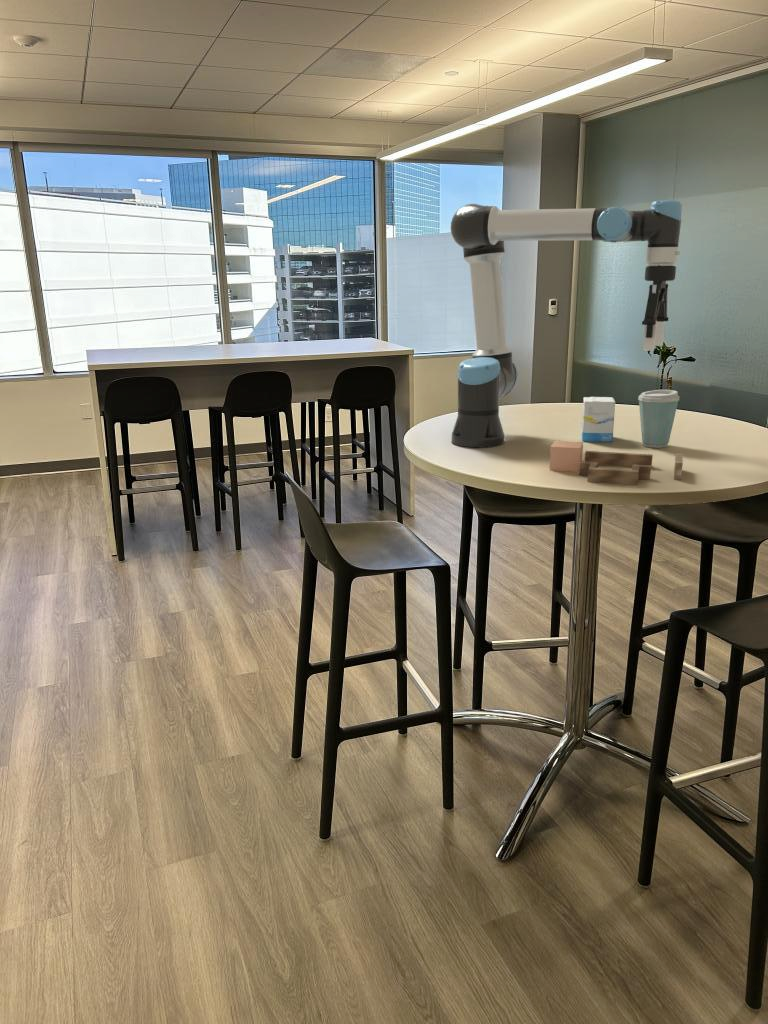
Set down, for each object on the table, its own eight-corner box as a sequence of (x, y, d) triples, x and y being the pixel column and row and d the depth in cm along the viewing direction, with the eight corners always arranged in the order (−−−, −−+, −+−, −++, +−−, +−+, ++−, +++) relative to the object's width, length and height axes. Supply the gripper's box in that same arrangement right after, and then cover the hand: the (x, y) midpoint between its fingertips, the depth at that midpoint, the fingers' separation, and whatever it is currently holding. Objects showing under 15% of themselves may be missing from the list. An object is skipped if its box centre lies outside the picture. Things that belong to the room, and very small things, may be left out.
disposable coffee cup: (649, 451, 201) (654, 395, 196) (626, 443, 211) (630, 389, 206) (683, 447, 204) (688, 392, 199) (658, 440, 213) (663, 387, 209)
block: (549, 470, 184) (550, 446, 183) (553, 463, 191) (554, 440, 189) (578, 472, 182) (579, 448, 180) (581, 465, 188) (583, 442, 187)
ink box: (612, 442, 212) (615, 401, 209) (582, 441, 214) (584, 401, 210) (610, 436, 220) (613, 396, 217) (580, 435, 222) (582, 396, 218)
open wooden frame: (576, 480, 174) (577, 464, 173) (585, 462, 191) (586, 446, 190) (681, 488, 167) (682, 470, 165) (680, 468, 183) (682, 452, 182)
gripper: (668, 264, 182) (659, 353, 189) (683, 264, 203) (674, 344, 210) (636, 265, 186) (629, 352, 192) (654, 265, 207) (647, 343, 213)
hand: (653, 348), depth 201 cm, fingers open, 13 cm apart
